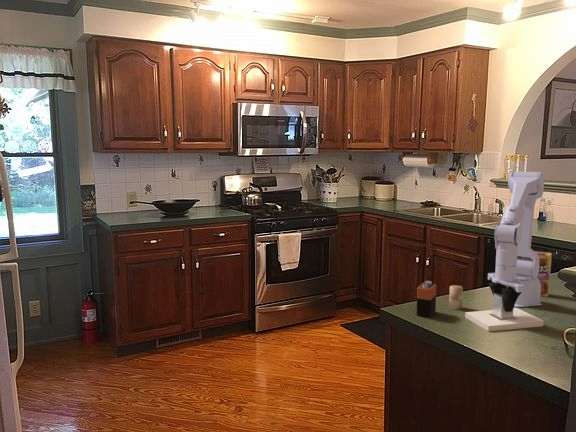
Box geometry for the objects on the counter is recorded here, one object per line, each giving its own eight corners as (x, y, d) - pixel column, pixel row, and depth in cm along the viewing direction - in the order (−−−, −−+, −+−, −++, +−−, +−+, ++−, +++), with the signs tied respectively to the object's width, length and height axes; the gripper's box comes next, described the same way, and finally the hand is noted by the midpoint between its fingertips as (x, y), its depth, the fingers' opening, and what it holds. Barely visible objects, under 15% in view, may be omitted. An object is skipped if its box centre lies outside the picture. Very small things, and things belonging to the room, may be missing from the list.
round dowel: (457, 305, 164) (458, 284, 163) (464, 309, 160) (465, 288, 159) (446, 306, 163) (447, 285, 162) (453, 310, 159) (453, 289, 158)
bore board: (516, 312, 156) (516, 307, 156) (543, 326, 144) (543, 320, 144) (465, 317, 152) (465, 312, 152) (488, 331, 141) (488, 326, 140)
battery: (435, 311, 158) (436, 281, 156) (429, 318, 152) (430, 286, 151) (422, 309, 160) (423, 279, 159) (415, 315, 154) (416, 284, 153)
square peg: (504, 314, 150) (505, 292, 149) (512, 319, 147) (514, 296, 146) (492, 315, 150) (493, 293, 149) (500, 320, 146) (501, 297, 145)
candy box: (519, 293, 176) (522, 251, 174) (521, 290, 179) (524, 249, 177) (547, 297, 171) (550, 254, 169) (549, 294, 175) (552, 252, 172)
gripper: (479, 259, 152) (477, 302, 154) (509, 271, 138) (507, 318, 140) (500, 258, 153) (498, 300, 155) (532, 269, 139) (529, 316, 141)
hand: (503, 308), depth 148 cm, fingers closed on square peg, 4 cm apart
